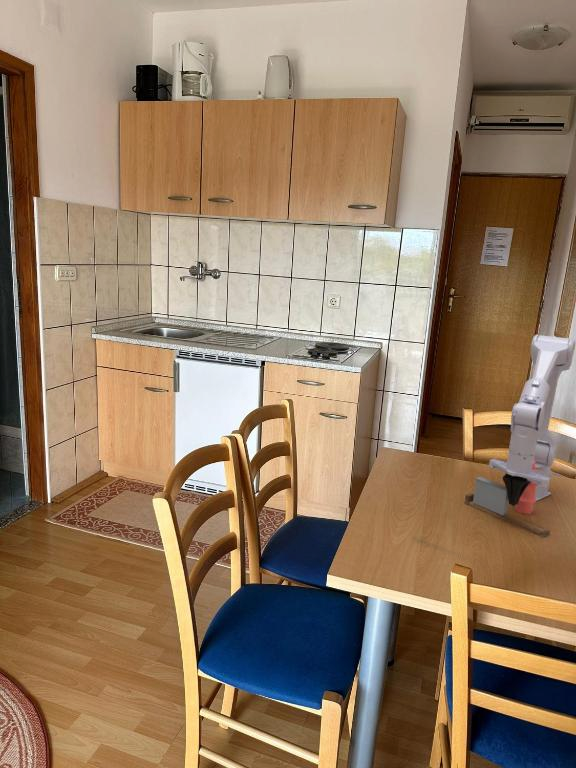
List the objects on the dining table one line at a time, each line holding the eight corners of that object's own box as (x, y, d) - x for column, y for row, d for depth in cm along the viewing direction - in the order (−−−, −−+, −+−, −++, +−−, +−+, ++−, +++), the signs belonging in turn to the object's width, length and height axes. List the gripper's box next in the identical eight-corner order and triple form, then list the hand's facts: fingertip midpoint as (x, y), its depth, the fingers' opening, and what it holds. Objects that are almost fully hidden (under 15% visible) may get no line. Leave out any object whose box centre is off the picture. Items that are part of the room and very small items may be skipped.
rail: (471, 500, 145) (472, 492, 144) (549, 534, 129) (551, 525, 128) (464, 503, 143) (465, 494, 142) (543, 537, 127) (544, 528, 126)
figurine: (537, 516, 138) (546, 460, 134) (515, 513, 139) (524, 458, 135) (532, 507, 143) (541, 453, 139) (511, 505, 144) (520, 451, 140)
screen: (476, 500, 143) (480, 476, 141) (507, 513, 136) (511, 488, 135) (472, 502, 142) (475, 478, 140) (502, 515, 135) (506, 490, 133)
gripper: (485, 445, 134) (477, 496, 137) (542, 464, 123) (533, 519, 126) (500, 440, 138) (493, 490, 141) (557, 459, 127) (548, 512, 130)
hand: (513, 504), depth 134 cm, fingers closed
